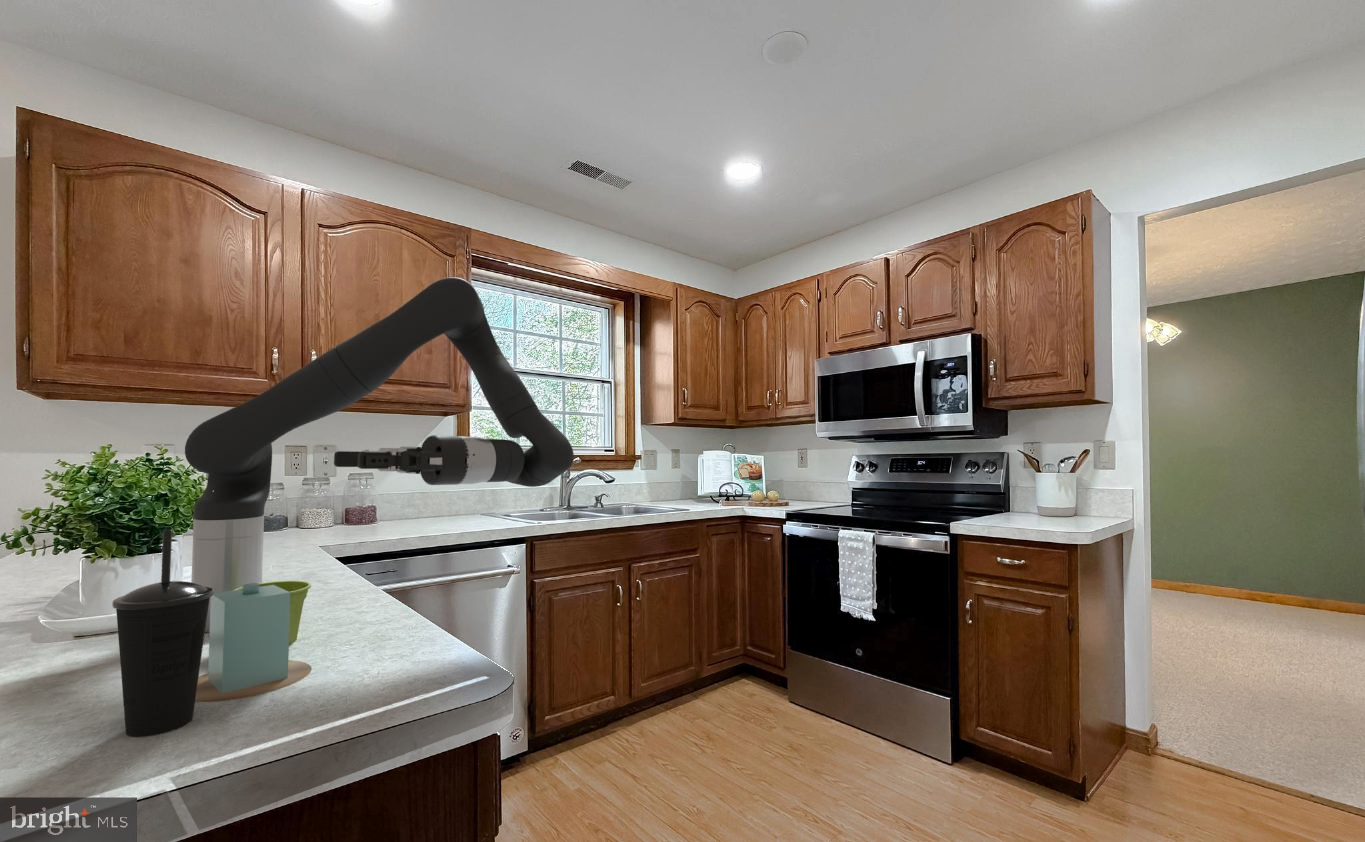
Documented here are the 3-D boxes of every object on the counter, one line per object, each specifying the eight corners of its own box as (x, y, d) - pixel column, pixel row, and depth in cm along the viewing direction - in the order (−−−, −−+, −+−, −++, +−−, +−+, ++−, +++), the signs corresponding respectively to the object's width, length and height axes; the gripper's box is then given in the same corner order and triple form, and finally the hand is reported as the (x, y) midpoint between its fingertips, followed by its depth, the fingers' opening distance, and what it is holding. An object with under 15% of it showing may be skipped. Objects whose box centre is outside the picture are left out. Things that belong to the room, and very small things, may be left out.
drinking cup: (197, 711, 65) (204, 523, 66) (218, 732, 60) (225, 529, 61) (99, 737, 59) (108, 531, 60) (113, 763, 54) (123, 538, 55)
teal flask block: (207, 679, 72) (211, 585, 72) (271, 665, 76) (273, 576, 77) (221, 693, 67) (225, 593, 68) (287, 677, 72) (290, 584, 73)
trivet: (165, 689, 71) (165, 680, 71) (291, 660, 81) (292, 653, 81) (188, 722, 63) (189, 712, 63) (327, 685, 72) (327, 676, 72)
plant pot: (324, 640, 90) (326, 581, 90) (275, 662, 80) (277, 595, 81) (266, 638, 91) (267, 580, 91) (211, 660, 81) (213, 594, 82)
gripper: (437, 436, 100) (328, 432, 88) (483, 436, 90) (368, 431, 78) (435, 482, 99) (326, 484, 87) (481, 486, 90) (366, 490, 78)
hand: (346, 459), depth 83 cm, fingers open, 8 cm apart
